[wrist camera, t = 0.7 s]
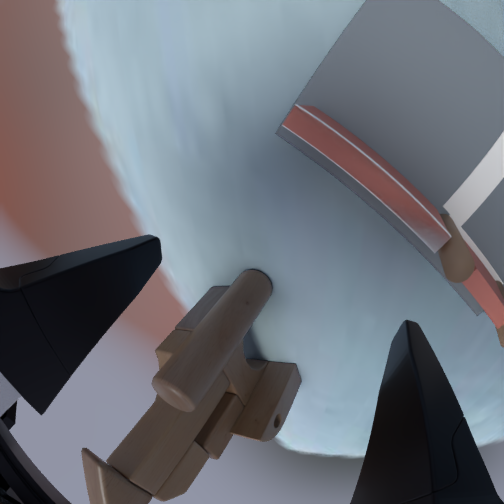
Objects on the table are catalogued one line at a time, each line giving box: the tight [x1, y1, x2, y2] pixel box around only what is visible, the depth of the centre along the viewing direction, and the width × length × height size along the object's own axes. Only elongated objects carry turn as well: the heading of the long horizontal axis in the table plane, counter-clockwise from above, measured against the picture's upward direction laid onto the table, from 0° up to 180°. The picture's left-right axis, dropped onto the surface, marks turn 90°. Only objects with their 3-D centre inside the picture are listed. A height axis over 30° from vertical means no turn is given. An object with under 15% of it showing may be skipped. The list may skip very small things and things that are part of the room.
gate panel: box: [282, 104, 451, 253], centre depth 13 cm, size 10×1×4 cm, turn 59°
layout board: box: [275, 0, 504, 316], centre depth 12 cm, size 21×15×1 cm
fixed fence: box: [438, 214, 504, 347], centre depth 13 cm, size 9×2×6 cm, turn 59°
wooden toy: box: [81, 270, 301, 504], centre depth 18 cm, size 16×7×25 cm, turn 19°
